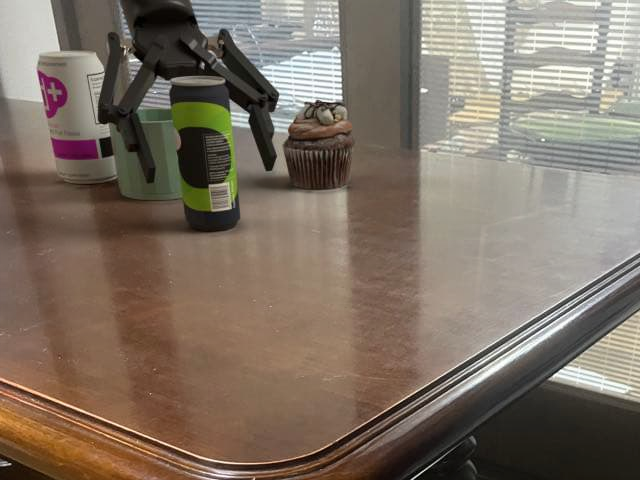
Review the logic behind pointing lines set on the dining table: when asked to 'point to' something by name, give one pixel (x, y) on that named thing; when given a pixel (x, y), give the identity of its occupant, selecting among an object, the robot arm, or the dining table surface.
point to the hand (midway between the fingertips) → (213, 169)
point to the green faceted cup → (163, 153)
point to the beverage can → (205, 152)
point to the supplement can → (76, 116)
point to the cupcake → (319, 146)
